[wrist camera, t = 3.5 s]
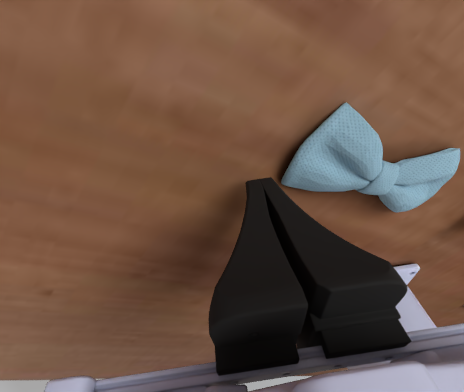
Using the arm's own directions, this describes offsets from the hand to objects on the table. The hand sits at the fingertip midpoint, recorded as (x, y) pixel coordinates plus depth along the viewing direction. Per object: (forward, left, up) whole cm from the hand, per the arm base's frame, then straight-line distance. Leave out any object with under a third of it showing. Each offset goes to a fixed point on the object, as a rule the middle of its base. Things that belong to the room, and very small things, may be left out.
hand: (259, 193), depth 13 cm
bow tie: (0, -7, -1) cm, 7 cm away
